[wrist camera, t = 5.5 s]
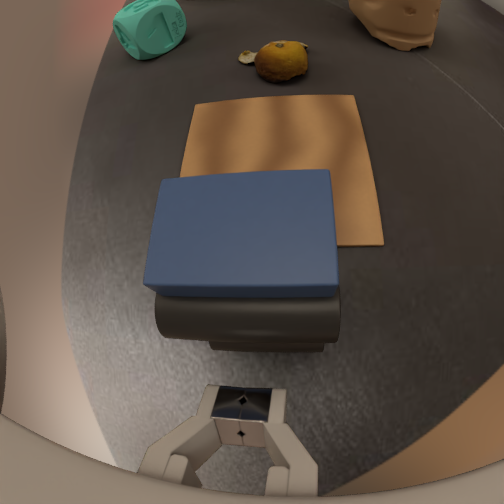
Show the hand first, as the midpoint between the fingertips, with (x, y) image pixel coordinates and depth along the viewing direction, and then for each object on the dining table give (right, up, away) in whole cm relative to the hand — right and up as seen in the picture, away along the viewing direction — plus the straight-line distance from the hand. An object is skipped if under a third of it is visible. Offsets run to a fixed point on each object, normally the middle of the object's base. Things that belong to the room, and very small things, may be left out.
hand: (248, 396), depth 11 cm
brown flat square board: (+2, +13, +14) cm, 19 cm away
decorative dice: (-14, +36, +26) cm, 47 cm away
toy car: (+1, +2, +10) cm, 10 cm away
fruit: (+4, +27, +20) cm, 34 cm away
